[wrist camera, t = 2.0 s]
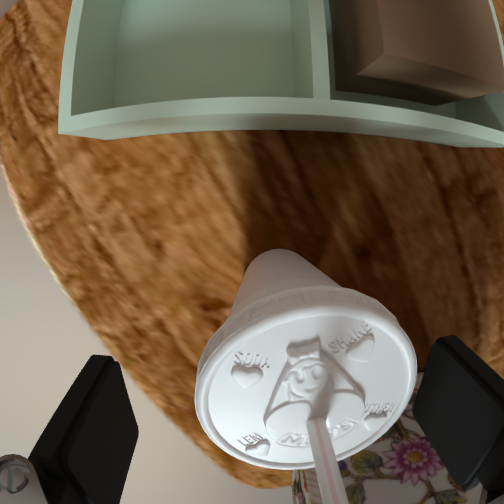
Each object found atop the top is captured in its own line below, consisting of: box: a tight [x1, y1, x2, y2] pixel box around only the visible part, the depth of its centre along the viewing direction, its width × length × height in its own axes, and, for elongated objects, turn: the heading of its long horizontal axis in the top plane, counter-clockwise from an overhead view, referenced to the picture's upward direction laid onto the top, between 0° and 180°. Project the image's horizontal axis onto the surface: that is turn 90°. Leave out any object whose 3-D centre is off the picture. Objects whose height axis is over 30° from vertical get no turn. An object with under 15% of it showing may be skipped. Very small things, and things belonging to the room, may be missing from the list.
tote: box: [58, 0, 504, 147], centre depth 11 cm, size 20×10×5 cm, turn 91°
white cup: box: [195, 249, 417, 504], centre depth 10 cm, size 6×6×14 cm
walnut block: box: [329, 0, 504, 106], centre depth 10 cm, size 6×6×6 cm
